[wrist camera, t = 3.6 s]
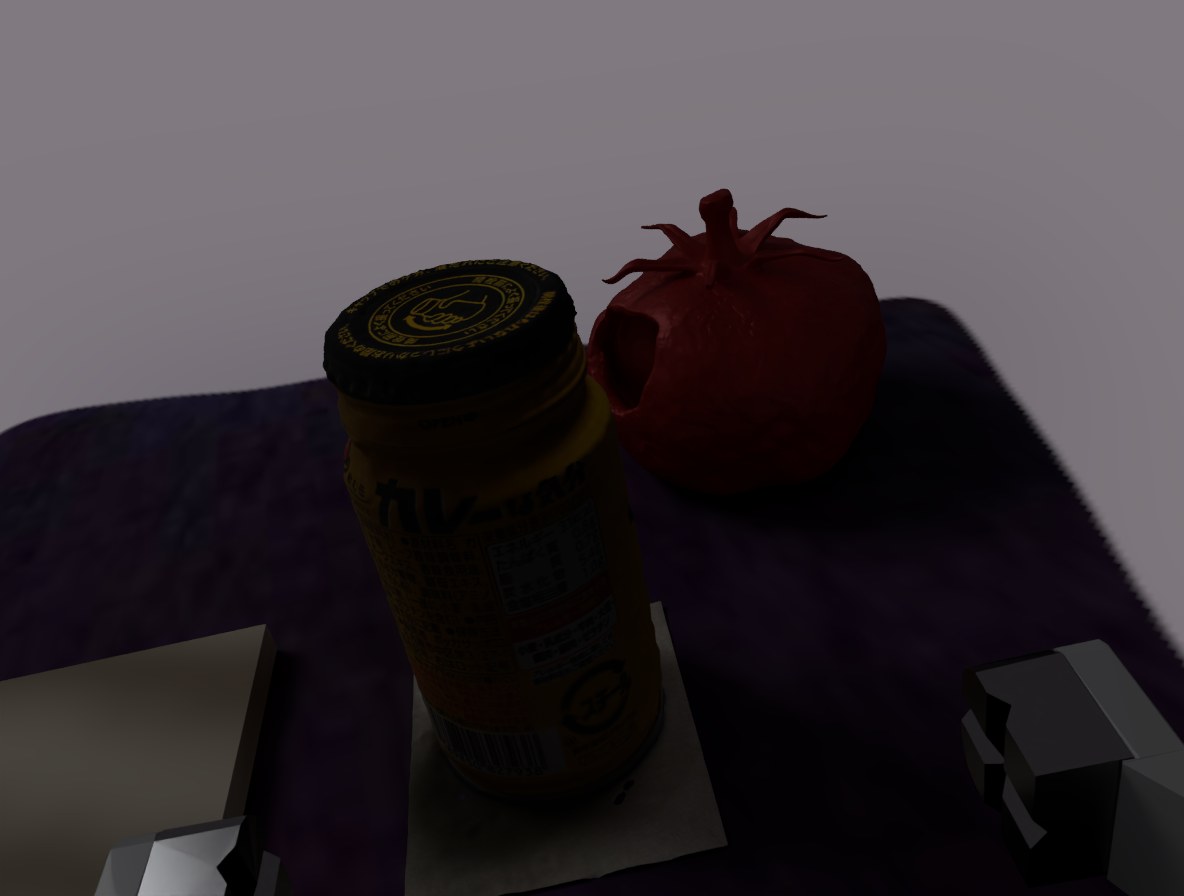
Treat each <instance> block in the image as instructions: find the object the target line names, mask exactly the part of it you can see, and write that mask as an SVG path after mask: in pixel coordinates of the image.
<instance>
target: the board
mask: <svg viewBox="0 0 1184 896" xmlns="http://www.w3.org/2000/svg"><path fill="white" fill-rule="evenodd" d="M276 651H277V647H276V645H275V643H274V641H273V638H272V636H271V634H270V632H269V630H268V627H267V625H266V624H264V625H259V626H255V627H250V628H245V629H241V630H236V631H231V632H227V633H222V634H218V635H213V636H208V637H204V638H199V639H194V640H190V641H185V642H181V643H176V644H171V645H167V646H162V647H158V648H153V649H148V650H144V651H139V652H134V653H130V654H125V655H121V656H116V657H111V658H107V659H102V660H98V661H93V662H88V663H84V664H79V665H74V666H70V667H65V668H61V669H56V670H51V671H47V672H42V673H38V674H33V675H28V676H24V677H19V678H14V679H10V680H5V681H1V682H0V896H94V894H95V891H96V888H97V885H98V882H99V879H100V877H101V874H102V871H103V868H104V865H105V862H106V859H107V857H108V854H109V852H110V850H111V849H112V848H113V846H114V845H115V844H116V843H117V842H118V841H119V839H120V838H126V837H131V836H137V835H142V834H148V833H153V832H158V831H163V830H167V829H172V828H178V827H183V826H189V825H195V824H200V823H206V822H212V821H217V820H223V819H229V818H234V817H240V816H243V813H244V809H245V804H246V799H247V794H248V789H249V784H250V779H251V774H252V769H253V764H254V759H255V755H256V750H257V745H258V740H259V735H260V730H261V725H262V720H263V715H264V710H265V705H266V701H267V696H268V691H269V686H270V681H271V676H272V671H273V666H274V661H275V656H276Z"/></svg>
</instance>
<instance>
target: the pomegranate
mask: <svg viewBox="0 0 1184 896" xmlns="http://www.w3.org/2000/svg"><path fill="white" fill-rule="evenodd" d="M699 212H700V215H701V218H702V219H703V220H704V221H705V224H706V232H705V233H701V234H698V235H696V236H692V237H690V236H689V235H688V234H687V233H685V232H684V231H682V230H681V229H680V228H678V227H677V226H676V225H673V224H656V225H652V226H642V227H641V228H643V229H660V230H662V231H663V233H664V234H665V235H667V237H668V238H669V239H670V240H671V242H672V243H673V244H674V245H673V246H672V248H671V249H669V250H668V251H667V252H666V253H665V254H664V255H663V256H662V257H661V258H659V259H657V260H647V259H635V260H633V261H630V262H629V263H627V264H626V265H625V266H624V267H623V268H622V269H621V270H620V271H619V272H618V273H617V274H616V275H615V276H614V277H612V278H610V279H608V280H602V281H603V282H605V283H608V284H614V283H616V282H618V281H620V280H621V279H622V278H624V277H625V276H626V275H628V274H630V273H632V272H643V274H642V275H641V276H640V277H639V278H638V279H637V280H635V281H633V282H632V283H631V284H630V285H629V286H628V287H627V288H625V289H623V290H621V291H620V292H619V293H618V294H617V295H616V296H615V297H614V298H613V299H612V300H611V302H610V303H609V305H608V306H607V309H605V310H604V311H603V312H601V313H600V314H599V316H598V317H597V319H596V320H595V323H594V326H593V328H592V331H591V335H590V338H589V343H588V349H587V359H586V361H587V365H588V366H587V373H588V375H590V376H591V377H592V379H594V380H595V381H596V382H597V383H598V384H599V385H600V386H601V387H602V388H603V389H604V391H605V392H606V394H607V397H608V399H609V402H610V406H611V409H612V412H613V414H614V417H615V419H616V426H617V431H618V440H619V441H620V443H621V444H622V446H623V447H624V448H625V449H626V451H627V452H628V453H629V454H630V455H631V456H632V458H633V459H635V460H636V461H637V462H638V463H639V464H640V465H641V466H642V467H643V468H644V469H645V470H647V471H649V472H650V473H652V474H653V475H655V476H658V477H659V478H661V479H663V480H665V481H667V482H669V483H671V484H672V485H675V486H678V487H680V488H684V489H689V490H694V491H697V492H700V493H704V494H709V495H720V496H725V495H732V494H738V493H744V492H747V491H750V490H754V489H757V488H759V487H763V486H769V485H794V484H798V483H803V482H808V481H810V480H812V479H814V478H816V477H817V476H819V475H822V474H824V473H826V472H828V471H829V470H830V469H831V468H832V467H833V466H834V465H835V464H836V463H837V462H838V461H839V460H840V459H841V458H842V457H843V456H844V455H845V453H846V452H847V450H848V449H849V447H850V444H851V442H852V441H853V439H854V438H855V436H856V435H857V433H858V432H859V429H860V428H861V426H862V425H863V424H864V423H865V421H866V420H867V418H868V416H869V414H870V412H871V410H872V406H873V402H874V396H875V392H876V388H877V383H878V381H879V378H880V376H881V373H882V368H883V364H884V361H885V356H886V351H887V341H886V334H885V327H884V323H883V320H882V317H881V311H880V304H879V301H878V297H877V295H876V293H875V289H874V287H873V284H872V282H871V280H870V278H869V276H868V274H867V273H866V272H865V271H863V269H862V267H861V265H859V264H858V263H857V262H856V261H855V260H853V259H851V258H850V257H849V256H847V255H845V254H842V253H839V252H835V251H830V250H825V249H821V248H814V247H810V246H805V245H802V244H799V243H797V242H794V241H793V240H792V239H789V238H780V237H775V236H772V235H771V234H772V233H773V231H774V230H775V229H776V228H777V227H778V226H779V225H780V223H781V222H782V221H783V220H784V219H785V218H824V217H826V216H827V215H823V216H816V215H811V214H809V213H806V212H804V211H800V210H797V209H794V208H784V209H782V210H780V211H779V212H777V213H776V214H774V215H772V216H771V217H769V218H767V219H766V220H763V221H762V222H761V223H759V224H758V225H756V226H755V227H754V228H752V229H751V230H750V231H748V230H741V229H738V227H737V210H736V209H735V207H733V199H732V195H731V193H730V191H729V190H728V189H720V190H718V191H716V192H714V193H712V194H709V195H707V196H706V197H703V198H702V199H701V200H700V204H699Z"/></svg>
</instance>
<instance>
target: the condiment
mask: <svg viewBox="0 0 1184 896" xmlns="http://www.w3.org/2000/svg"><path fill="white" fill-rule="evenodd" d="M573 303H574V302H573V300H572V298H571V296H570V295H569V294H568V292H567V288H566V287H565V284H564V283H563V281H562V280H561V279H560V277H559V276H558V275H557V274H555V273H553V272H550V271H548V270H545V269H543V268H540V267H539V266H537V265H534V264H531V263H524V262H521V261H511V260H500V259H493V260H475V261H471V260H469V261H462V262H457V263H453V264H445V265H440V266H437V267H435V268H431V269H425V270H419V271H418V272H416V273H411V274H410V275H408V276H403V277H401V278H399V279H396V280H392V281H390V282H388V283H385V284H384V285H382V286H380V287H378V288H375V289H373V290H372V291H370V292H369V293H368V294H367V295H366V296H363V297H362V298H360V299H358V300H356V301H355V302H353V303H352V304H351V305H350V306H349V307H347V308H346V309H344V310H343V311H342V312H341V313H340V315H339V316H338V318H337V319H336V321H335V322H334V323H333V324H332V325H331V326H330V328H329V329H328V331H326V334H325V343H324V362H323V368H324V370H325V371H326V374H327V378H328V379H329V381H330V382H331V383H332V385H333V386H334V387H335V388H336V390H337V392H338V395H339V400H338V409H339V411H340V417H341V421H342V424H343V428H344V429H345V430H346V432H347V433H348V435H349V437H350V438H349V441H348V443H347V445H346V448H345V452H344V458H343V460H344V480H345V483H346V486H347V488H348V491H349V494H350V498H351V500H352V504H353V505H354V510H355V512H356V514H357V516H358V518H359V520H360V523H361V528H362V530H363V533H364V535H365V538H366V542H367V544H368V546H369V548H370V551H371V554H372V557H373V559H374V562H375V565H376V567H377V569H378V573H379V576H380V578H381V581H382V584H383V587H384V589H385V592H386V595H387V600H388V602H389V604H390V607H391V610H392V612H393V615H394V617H395V620H396V623H397V626H398V629H399V634H400V636H401V638H402V641H403V644H404V646H405V650H406V653H407V656H408V658H409V661H410V663H411V665H412V670H413V673H414V701H413V731H412V742H411V744H412V755H411V767H410V773H411V775H410V781H409V815H408V840H407V845H408V846H407V859H406V870H405V896H500V895H503V894H507V893H517V892H525V891H530V890H534V889H538V888H543V887H548V886H552V885H556V884H560V883H565V882H569V881H573V880H578V879H583V878H589V879H592V878H600V877H601V876H603V875H605V874H608V873H611V872H614V871H617V870H621V869H625V868H628V867H634V866H637V865H642V864H650V863H656V862H661V861H667V860H671V859H674V858H676V857H679V856H682V855H686V854H690V853H695V852H699V851H703V850H708V849H713V848H717V847H722V846H727V845H728V843H727V839H726V836H725V832H724V829H723V825H722V821H721V817H720V814H719V810H718V806H717V803H716V800H715V796H714V792H713V789H712V785H711V781H710V777H709V774H708V770H707V767H706V764H705V761H704V757H703V753H702V749H701V745H700V741H699V738H698V735H697V731H696V727H695V724H694V720H693V717H692V713H691V710H690V706H689V703H688V699H687V696H686V692H685V688H684V685H683V681H682V677H681V674H680V670H679V667H678V663H677V659H676V656H675V652H674V649H673V645H672V641H671V637H670V634H669V631H668V627H667V623H666V620H665V616H664V612H663V608H662V604H661V601H659V602H656V603H652V604H650V603H649V598H648V596H647V584H646V582H645V579H644V575H643V569H642V558H641V550H640V546H639V543H638V539H637V530H636V526H635V522H634V521H633V514H632V511H631V508H630V505H629V502H628V491H627V487H626V478H625V474H624V471H623V464H622V459H621V455H620V448H619V445H618V431H617V426H616V419H615V417H614V414H613V412H612V409H611V406H610V402H609V399H608V397H607V394H606V392H605V391H604V389H603V388H602V387H601V386H600V385H599V384H598V383H597V382H596V381H595V380H594V379H592V377H591V376H590V375H588V374H587V366H588V365H587V361H586V359H587V356H586V352H585V348H584V345H583V344H582V342H581V339H580V337H579V335H578V333H577V326H576V323H575V321H574V319H575V315H576V314H577V312H576V311H575V306H574V305H573ZM629 780H630V781H632V780H634V784H633V785H632V786H631V787H630V789H629V790H624V789H623V785H624V784H625V783H626V782H627V781H629ZM622 792H625V794H626V796H625V798H624V800H623V801H622V803H621V804H619V805H614V804H613V803H614V801H615V799H616V797H617V796H618V795H619V794H620V793H622ZM462 794H465V799H463V800H460V799H459V797H458V796H459V795H462Z"/></svg>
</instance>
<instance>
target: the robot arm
mask: <svg viewBox="0 0 1184 896" xmlns="http://www.w3.org/2000/svg"><path fill="white" fill-rule="evenodd" d="M962 693H963V695H964V697H965V699H966V701H967V703H968V704H969V706H970V708H971V709H970V710H969V711H968V713H967V714H966V715H965V716H964V718H963V719H962V742H963V747H964V751H965V756H966V760H967V765H968V768H969V770H970V773H971V775H972V778H973V781H974V783H975V785H976V787H977V789H978V791H979V793H980V795H981V798H982V800H983V802H984V803H986V804H987V805H989V806H990V807H992V808H994V809H995V810H997V811H999V812H1000V813H1002V824H1001V837H1002V839H1003V841H1004V843H1005V845H1006V846H1007V848H1008V850H1009V852H1010V854H1011V856H1012V858H1013V860H1014V862H1015V864H1016V866H1017V868H1018V869H1019V871H1020V873H1021V875H1022V877H1023V879H1024V881H1025V883H1026V885H1027V887H1028V888H1033V887H1038V886H1044V885H1050V884H1056V883H1062V882H1067V881H1073V880H1079V879H1085V878H1091V877H1096V876H1102V875H1107V879H1108V880H1109V881H1111V882H1112V883H1113V884H1115V885H1116V886H1117V887H1119V888H1120V889H1121V890H1123V891H1124V892H1125V893H1127V894H1128V895H1129V896H1184V743H1183V742H1182V741H1181V739H1180V738H1179V737H1178V735H1177V734H1176V733H1175V732H1174V730H1173V729H1172V728H1171V726H1170V725H1169V724H1168V722H1167V721H1166V720H1165V718H1164V717H1163V716H1162V715H1161V713H1160V712H1159V711H1158V709H1157V708H1156V707H1155V705H1154V704H1153V703H1152V702H1151V700H1150V699H1149V698H1148V696H1147V695H1146V694H1145V692H1144V691H1143V690H1142V688H1141V687H1140V686H1139V685H1138V683H1137V682H1136V681H1135V679H1134V678H1133V677H1132V675H1131V674H1130V673H1129V671H1128V670H1127V669H1126V668H1125V666H1124V665H1123V664H1122V662H1121V661H1120V660H1119V658H1118V657H1117V656H1116V654H1115V653H1114V652H1113V651H1112V649H1111V648H1110V647H1109V645H1108V644H1106V643H1104V642H1103V641H1101V640H1099V639H1098V640H1093V641H1088V642H1083V643H1079V644H1074V645H1069V646H1064V647H1060V648H1055V649H1053V650H1050V649H1048V650H1043V651H1039V652H1034V653H1029V654H1025V655H1020V656H1016V657H1011V658H1006V659H1002V660H997V661H992V662H988V663H983V664H979V665H974V666H969V667H966V668H965V670H964V673H963V675H962ZM266 836H267V833H266V831H265V830H264V828H263V826H262V825H261V823H260V821H259V820H258V818H257V816H256V815H245V816H240V817H234V818H229V819H223V820H217V821H212V822H206V823H200V824H195V825H189V826H183V827H178V828H172V829H167V830H163V831H158V832H153V833H148V834H142V835H137V836H131V837H126V838H120V839H119V841H118V842H117V843H116V844H115V845H114V846H113V848H112V849H111V850H110V852H109V854H108V857H107V859H106V862H105V865H104V868H103V871H102V874H101V877H100V879H99V882H98V885H97V888H96V891H95V894H94V896H293V890H292V886H291V883H290V879H289V875H288V872H287V870H286V868H285V866H284V864H283V862H282V860H281V859H280V858H278V857H276V856H274V855H272V854H270V853H268V852H266V851H264V847H265V841H266Z"/></svg>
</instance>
